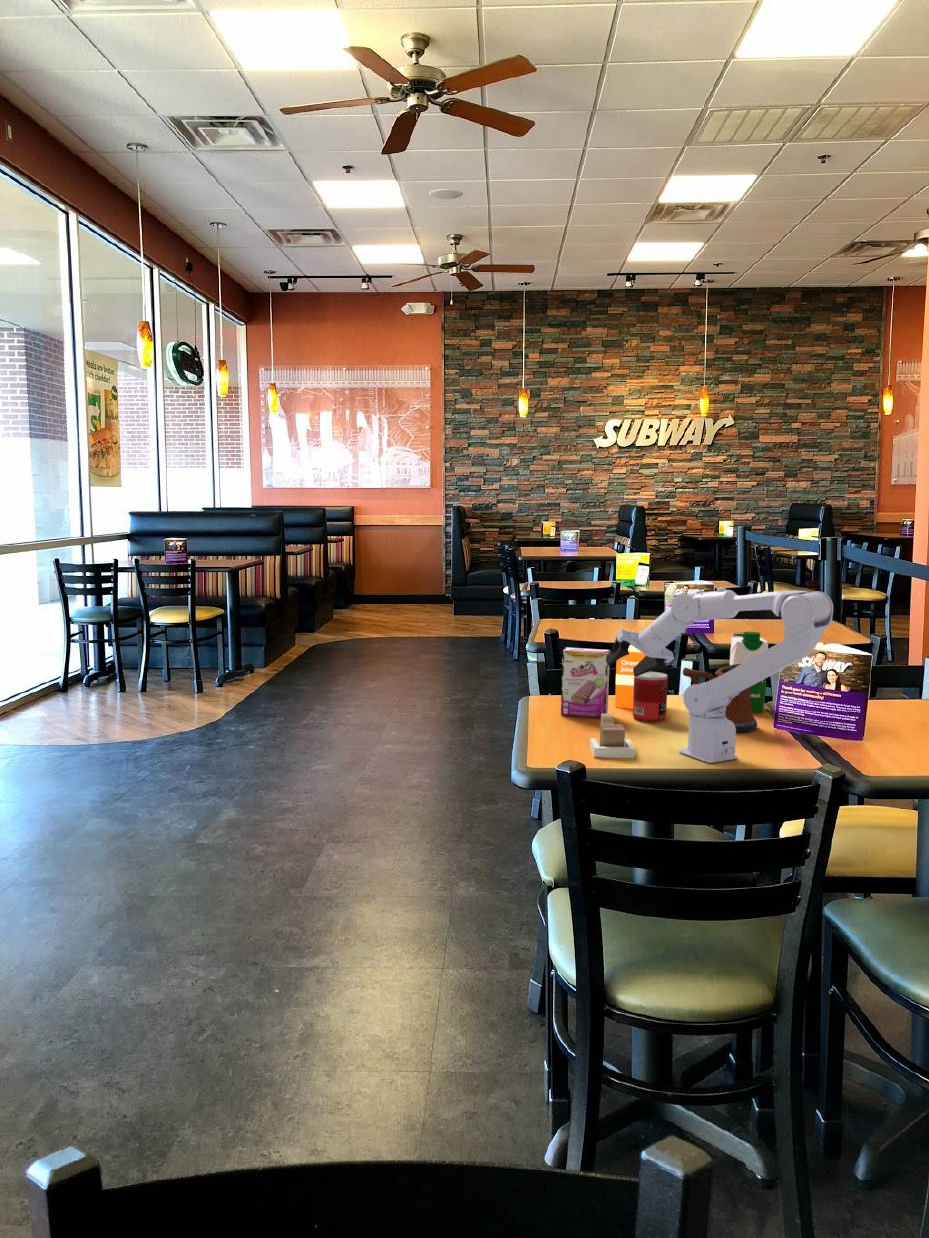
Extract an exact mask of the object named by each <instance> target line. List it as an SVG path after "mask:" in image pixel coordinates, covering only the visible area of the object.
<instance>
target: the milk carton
mask: <svg viewBox="0 0 929 1238" xmlns="http://www.w3.org/2000/svg"><path fill="white" fill-rule="evenodd" d="M767 649H769V642H768V641H767V640H766V639H765V638H762V637H761V633H760V632H757V631H743V636H742V637H740V636H739V637H738V636H737V637H736V636H734V637H733V636H732V637H731V643H730V651H729V652H730V654H729V665H734V664H743V663H744V662H746V661H748V660H750V659H751V658H753V657H755V656H757V655H759V654H760V653H762V652H764V651H766V650H767ZM766 690H767V678H765V679H763V680H762V681H760V682H758V683H756V684H754V685H752V686H751V687H750V704H751V709H752V712H753V713H761V714H763V713H764V706H765V702H766V701H765V699H766Z"/></svg>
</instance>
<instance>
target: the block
mask: <svg viewBox="0 0 929 1238" xmlns="http://www.w3.org/2000/svg"><path fill="white" fill-rule="evenodd" d="M614 717H615V716H614V714H613V713H607V714H601V718H600V725H599V726H600V727H599V729H600V730H599V731H600V732H599V733H600V734H599V747H624V742H625V739H626V738H625V736H626V735H625V733H626V729H625V728H624V726H623V724H617V723H616V724H615V723H614Z"/></svg>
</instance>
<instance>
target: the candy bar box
mask: <svg viewBox="0 0 929 1238" xmlns="http://www.w3.org/2000/svg"><path fill="white" fill-rule="evenodd" d="M610 651H611V649H598V648H583V647H581V648H580V647H565V648H564V649H563V650H562V669H561V671H562V673H561V697H560V716H564V717H565V716H568V717H579V718H581V717H582V718H591V719H596V718H597V719H601V714H609V713H608V712H609V711H608V710H609V684H610V683H609V681H610V666H609V665H607V661H606V658H607V656H608V655H609V653H610Z"/></svg>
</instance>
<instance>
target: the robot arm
mask: <svg viewBox="0 0 929 1238" xmlns="http://www.w3.org/2000/svg"><path fill="white" fill-rule="evenodd" d="M745 611H748V612H749V611H772V612H773V614H774V615H775V616H776V617H781V621H782V628H783V632H784V635H783V640H782V641H780V642H778V643H777V644H775V645H773V646H771V647H768V649H767V650H766V651H764V652H762V653H760V654H759V655H757V656H755V657H753V658H751V659H750V660H748V661H746V662H744V663H743V664H741V665H739V666H737V667H735V668H734V669H732V670H730V671H728V672H727V673H725V674H723V675H721V676H719V677H716V678H714V679H712V680H710V679H709V680H708V681H706V682H701V683H699V684H694V685H693V684H690V685H689V686H687V688H685V690H684V692H683V704H684V706H685V708H686V710H688V715H689V716H688V741H687V748H683V749H678V753H680V754H682V755H685V756H688V757H691V758H694V759H697V760H700V761H701V762H704V761H705V763H707V762H708V764H714V763H718V762H725V761H731V760H737V759H738V758H739V757H738V755H736V741H737V738H736V737H737V732H736V728H735V725H734V723H733V722H732V721H730V720H728V719H727V718H726V716H725V712H726V706H728V705H729V703H730V702H731V700H732V699H733V698H734V697H735V696H737V695H739V692H741V691H743V690H745V689H747V688H749V687H751V686H752V685H754V684H756V683H758V682H760V681H762V680H763V679H765V678H766V679H767V678H769V677H771V676H773V675H774V674H776V673H778V672H780V671H782V670H784V669H785V668H787V667H789V666H791V665H793V664H795V663H797V662H799V661H801V660H802V659H804V658H807V657H808V656H809V655H811V654H812V653H813V652H814V650H815V649H816V647H817V645H818V643H819V642H820V639H821V638H822V636H823V634H824V632H825V631H826V630H827V628H828V627H829V626H830V625H831V624H832V622H833V614H834V603H833V600H832V599H831V597H830V596H829V595H828V594H826V593H825V592H823V591H820V590H819V591H818V590H817V591H816V590H815V591H814V590H813V591H811V592H808V591H806V590H777V591H767V592H761V593H760V592H759V593H752V594H745V595H739V594H737V593H736V592H735V591H733V590H732V589H727V588H726V587H718V588H716V590H715V591H704V590H703V589H702V590H696V592H692V593H682V594H679V595H677V596H676V597H675V598H673V600H672V602H671V606H670V607H669V608H668V609H666V610H665V611H663V613H661V614H660V615H659V616H658V617H657V618H656V619H655V620H653V622H651V623H650V624H649V625H648V626H647V627H646V628H644V629H641V631H640V630H639V631H640V633H639V632H633V631H629V630H624V629H620V631H618V632H617V633H616V637H615V640H614V643H613V646H612V648H611V649H610V653H609V655H608V656H607V658H606V661H607V665H609V667H610V666H613V665H614V664H615V663H617V660H618V659H620V658H622V657H624V656H626V655H629V651H628V648H629V646H630V645H632V646H634V647H635V648H636V649H638V650H639V651H640V652H642V653H643V654H645V655H646V656H645V657H644V658H643V659H642V660H641V661H640V662H639V663H638V664H637V665H636V666H635V667H634V668H633V673H634V676H635V677H637V676H639V675H642V674H644V673H646V672H649V671H650V672H654V671H658V670H663V669H664V668H665V663H667V664H669V663H671V662H672V661H673V660H675V658H674V657H675V656H674V653H673V652H674V651H671V650H669V649H668V648H666V647H667V646H669V644H671V643H672V642H673V641H674V640H676V639H677V638H678V637H679V636H680V635H681V634H682V633H683V632H685V631H686V629H688V628H689V627H690V626H692V625H693V623H694V622H695V621H709V620H710V621H711V620H722V619H733V618H735V617H736V616H737V614H738V613H739V612H745Z"/></svg>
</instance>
